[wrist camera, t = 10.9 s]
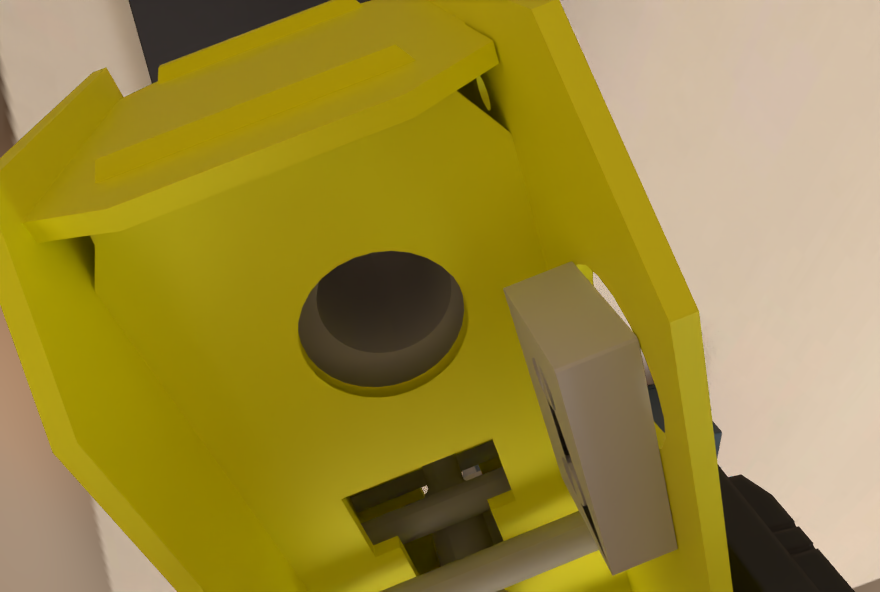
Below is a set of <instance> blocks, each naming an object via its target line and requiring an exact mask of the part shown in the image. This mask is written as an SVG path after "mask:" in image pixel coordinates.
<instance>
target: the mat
mask: <svg viewBox="0 0 880 592" xmlns="http://www.w3.org/2000/svg"><path fill="white" fill-rule="evenodd" d="M328 1H331V0H129V4H130V7H131V11H132V14H133V18H134V21H135V25H136V28H137V32H138V36H139V39H140V43H141V46H142V50H143V53H144V57H145V60H146V64H147V67H148V71H149V75H150V78H151V82H152V84H153V83H155V82H157V81H158V68H159V67H160V65H162V64H165V63H168V62H170V61H173V60H175V59H178V58H181V57H183V56H186V55H189V54H191V53H194V52H196V51H199V50H202V49H204V48H207V47H210V46H212V45H215V44H217V43H220V42H223V41H225V40H228V39H231V38H233V37H236V36H238V35H241V34H244V33H246V32H249V31H252V30H254V29H257V28H260V27H262V26H265V25H267V24H270V23H273V22H275V21H278V20H281V19H283V18H286V17H288V16H291V15H294V14H296V13H299V12H302V11H304V10H307V9H309V8H312V7H315V6H317V5H320V4H323V3H325V2H328ZM357 1H358V2H359V3H364V2H367V1H371V0H357Z"/></svg>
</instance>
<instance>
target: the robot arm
mask: <svg viewBox="0 0 880 592" xmlns="http://www.w3.org/2000/svg"><path fill="white" fill-rule="evenodd" d="M718 472H719V480H720V489H721V497H722V505H723V513H724V522H725V530H726V538H727V546H728V554H729V563H730V571H731V579H732V587H733V592H855V591H854V590H853V589H852V588H851V587H850V586H849V584H848V583H847V582H846V581H845V580H844V579H843V577H842V576H841V575H840V574H839V573H838V572H837V570H836V569H835V568H834V567H833V566H832V565H831V563H830V562H829V561H828V560H827V559H826V557H825V556H824V555H823V554H822V553H821V552H820V550H819V549H815V548H814V546H813V542H812V541H811V540H810V539H809V538H808V536H807V535H806V534H805V533H804V532H803V531H802V529H801V528H800V527H796V526H795V523H794V520H793V519H792V518H791V517H790V515H789V514H788V513H787V512H786V511H785V510H784V508H783V507H782V506H781V505H780V504H779V503H778V501H777V500H776V499H775V498H774V497H773V496H772V495H771V494H770V493H768V492H767V491H765V490H764V489H762V488H761V487H759V486H758V485H756V484H755V483H753V482H752V481H750V480H749V479H747V478H746V477H744V476H742V475H737V476H732V477H727V475H726V474H725V473H724V472H723V470H722V469H721V468H720V467H719V465H718Z"/></svg>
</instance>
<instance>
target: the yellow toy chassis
mask: <svg viewBox="0 0 880 592" xmlns="http://www.w3.org/2000/svg"><path fill="white" fill-rule="evenodd" d="M593 272H594V273H596V274H597V275H598V276H599V278H600V279H601V280H602V282H603V283H604V284H605V286H606V287H607V288H608V290H609V291H610V292H611V294H612V295H613V297H614V298H615V300H616V302H617V303H618V305H619V307H620V309H621V310H622V312H623V314H624V316H625V317H626V319H627V321H628V322H629V324H630V326H631V328H632V330H631V329H630V328H629V327H628V326H627V325H626V323H625V322H624V321H623V320H622V319H621V318H620V316H619V315H618V314H617V313H616V312H615V311H614V309H613V308H612V307H611V306H610V305H609V304H608V302H607V301H606V300H605V299H604V298H603V297H602V296H601V294H600V293H599V292H598V291H597V290H596V289H595V287H594V285H593ZM0 305H1V308H2V311H3V314H4V317H5V319H6V322H7V325H8V328H9V331H10V333H11V336H12V339H13V342H14V345H15V347H16V350H17V353H18V356H19V359H20V361H21V364H22V367H23V370H24V373H25V376H26V378H27V381H28V384H29V387H30V390H31V393H32V395H33V398H34V401H35V404H36V407H37V409H38V412H39V415H40V418H41V420H42V424H43V426H44V429H45V432H46V435H47V437H48V440H49V443H50V446H51V449H52V452H53V453H54V455H55V456H56V457H57V458H58V459H59V460H60V461H61V462H62V463H63V465H64V466H65V467H66V468H67V469H68V470H69V471H70V472H71V474H72V475H73V476H74V477H75V478H76V479H77V480H78V481H79V483H80V484H81V485H82V486H83V487H84V488H85V489H86V490H87V491H88V493H89V494H90V495H91V496H92V497H93V498H94V499H95V500H96V501H97V503H98V504H99V505H100V506H101V507H102V508H103V509H104V510H105V511H106V513H107V514H108V515H109V516H110V517H111V518H112V519H113V520H114V522H115V523H116V524H117V525H118V526H119V527H120V528H121V529H122V530H123V532H124V533H125V534H126V535H127V536H128V537H129V538H130V539H131V540H132V542H133V543H134V544H135V545H136V546H137V547H138V548H139V549H140V550H141V552H142V553H143V554H144V555H145V556H146V557H147V558H148V559H149V561H150V562H151V563H152V564H153V565H154V566H155V567H156V568H157V569H158V571H159V572H160V573H161V574H162V575H163V576H164V577H165V578H166V579H167V581H168V582H169V583H170V584H171V585H172V586H173V587H174V588H175V590H176V591H177V592H733V587H732V579H731V571H730V563H729V554H728V546H727V538H726V530H725V522H724V513H723V505H722V497H721V489H720V480H719V472H718V464H717V456H716V448H715V439H714V431H713V423H712V415H711V406H710V398H709V390H708V382H707V374H706V365H705V357H704V349H703V341H702V332H701V324H700V316H699V310H698V308H697V306H696V304H695V301H694V299H693V297H692V295H691V293H690V290H689V288H688V286H687V284H686V281H685V279H684V277H683V275H682V272H681V270H680V268H679V266H678V264H677V261H676V259H675V257H674V255H673V252H672V250H671V248H670V246H669V244H668V241H667V239H666V237H665V235H664V232H663V230H662V228H661V226H660V223H659V221H658V219H657V217H656V215H655V212H654V210H653V208H652V206H651V203H650V201H649V199H648V197H647V195H646V192H645V190H644V188H643V186H642V183H641V181H640V179H639V177H638V174H637V172H636V170H635V168H634V166H633V163H632V161H631V159H630V157H629V154H628V152H627V150H626V148H625V146H624V143H623V141H622V139H621V137H620V134H619V132H618V130H617V128H616V125H615V123H614V121H613V119H612V117H611V114H610V112H609V110H608V108H607V105H606V103H605V101H604V99H603V97H602V94H601V92H600V90H599V88H598V85H597V83H596V81H595V79H594V76H593V74H592V72H591V70H590V68H589V65H588V63H587V61H586V59H585V56H584V54H583V52H582V50H581V48H580V45H579V43H578V41H577V39H576V36H575V34H574V32H573V30H572V27H571V25H570V23H569V21H568V19H567V16H566V14H565V12H564V10H563V7H562V5H561V3H560V1H559V0H371V1H367V2H364V3H359V2H358V1H357V0H331V1H328V2H325V3H323V4H320V5H317V6H315V7H312V8H309V9H307V10H304V11H302V12H299V13H296V14H294V15H291V16H288V17H286V18H283V19H281V20H278V21H275V22H273V23H270V24H267V25H265V26H262V27H260V28H257V29H254V30H252V31H249V32H246V33H244V34H241V35H238V36H236V37H233V38H231V39H228V40H225V41H223V42H220V43H217V44H215V45H212V46H210V47H207V48H204V49H202V50H199V51H196V52H194V53H191V54H189V55H186V56H183V57H181V58H178V59H175V60H173V61H170V62H168V63H165V64H162V65H160V67H159V68H158V81H157V82H155V83H153V84H151V85H149V86H147V87H145V88H143V89H140V90H138V91H136V92H134V93H132V94H130V95H128V96H126V97H123V96H122V94H121V92H120V90H119V89H118V87H117V85H116V83H115V82H114V80H113V78H112V77H111V75H110V73H109V71H108V70H107V68H103V69H101V70H98V71H95V72H93V73H92V74H90V75H89V76H88V77H87V78H86V79H85V80H84V81H83V82H82V83H81V84H80V85H79V86H78V87H76V88H75V89H74V90H73V91H72V92H71V93H70V94H69V95H68V96H67V97H66V98H65V99H64V100H62V101H61V102H60V103H59V104H58V105H57V106H56V107H55V108H54V109H53V110H52V111H51V112H50V113H48V114H47V115H46V116H45V117H44V118H43V119H42V120H41V121H40V122H39V123H38V124H37V125H36V126H34V127H33V128H32V129H31V130H30V131H29V132H28V133H27V134H26V135H25V136H24V137H23V138H21V139H20V140H19V141H18V142H17V143H16V144H15V145H14V146H13V147H12V148H11V149H10V150H9V151H7V152H6V153H5V154H4V155H3V156H2V157H1V158H0ZM632 331H633V332H632ZM640 348H641V350H642V352H643V354H644V356H645V359H646V362H647V364H648V367H649V370H650V373H651V375H652V378H653V381H654V384H655V386H656V389H657V392H658V396H659V400H660V404H661V408H662V412H663V416H664V425H665V433H664V432H663V431H662V430H661V429H660V428H659V427H658V425H657V424H656V423H655V422H654V420H653V414H652V409H651V404H650V398H649V393H648V388H647V382H646V377H645V372H644V366H643V361H642V356H641V350H640ZM476 465H479V468H480V470H481V471H478V472H475V473H473V474H470V475H468V476H466V477H464V478H463V476H462V473H461V471H463V470H466V469H468V468H471V467H473V466H476ZM426 485H427V486H428V491H427V493H426V494H424V492H423V490H422V488H421V487H424V486H426Z"/></svg>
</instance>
